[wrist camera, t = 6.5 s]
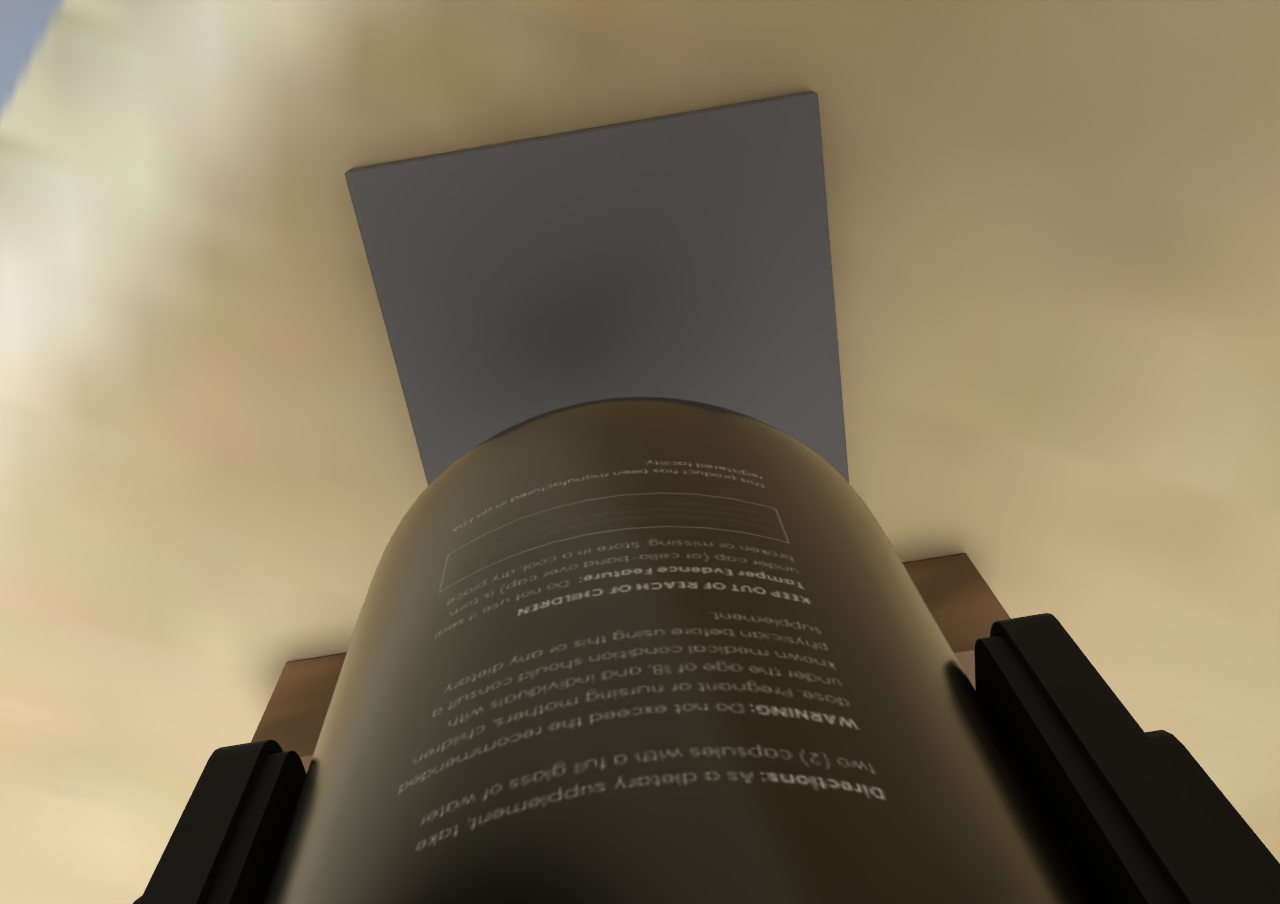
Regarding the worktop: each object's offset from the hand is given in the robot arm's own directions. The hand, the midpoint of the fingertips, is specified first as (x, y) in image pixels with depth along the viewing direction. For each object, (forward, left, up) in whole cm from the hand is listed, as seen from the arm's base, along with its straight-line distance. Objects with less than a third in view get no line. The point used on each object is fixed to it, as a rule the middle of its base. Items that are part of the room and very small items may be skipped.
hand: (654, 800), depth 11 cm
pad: (0, 0, -15) cm, 15 cm away
